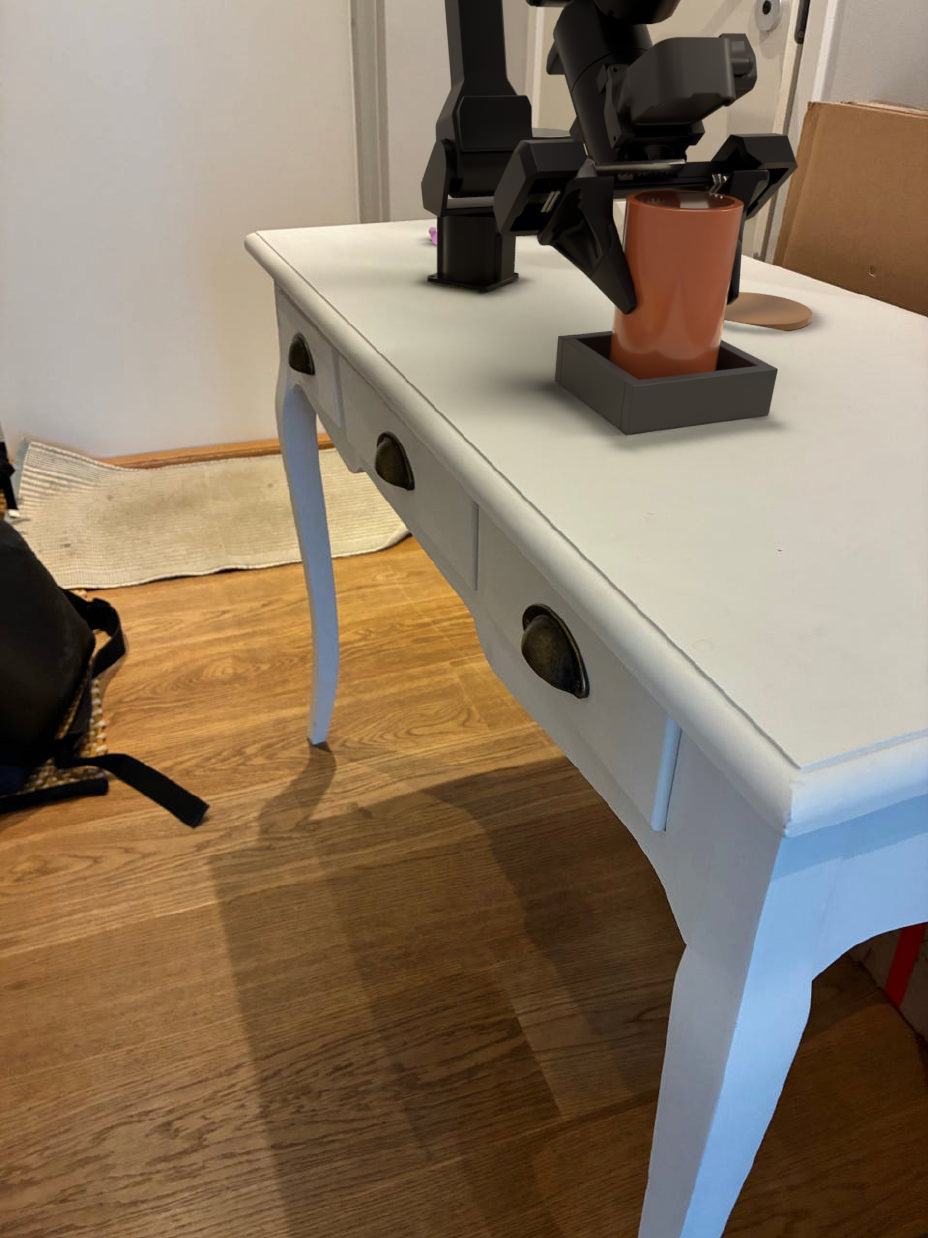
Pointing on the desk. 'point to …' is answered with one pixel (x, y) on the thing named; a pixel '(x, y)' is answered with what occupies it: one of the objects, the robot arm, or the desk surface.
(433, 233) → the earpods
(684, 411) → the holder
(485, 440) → the desk surface
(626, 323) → the cup
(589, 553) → the desk surface
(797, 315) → the coaster
